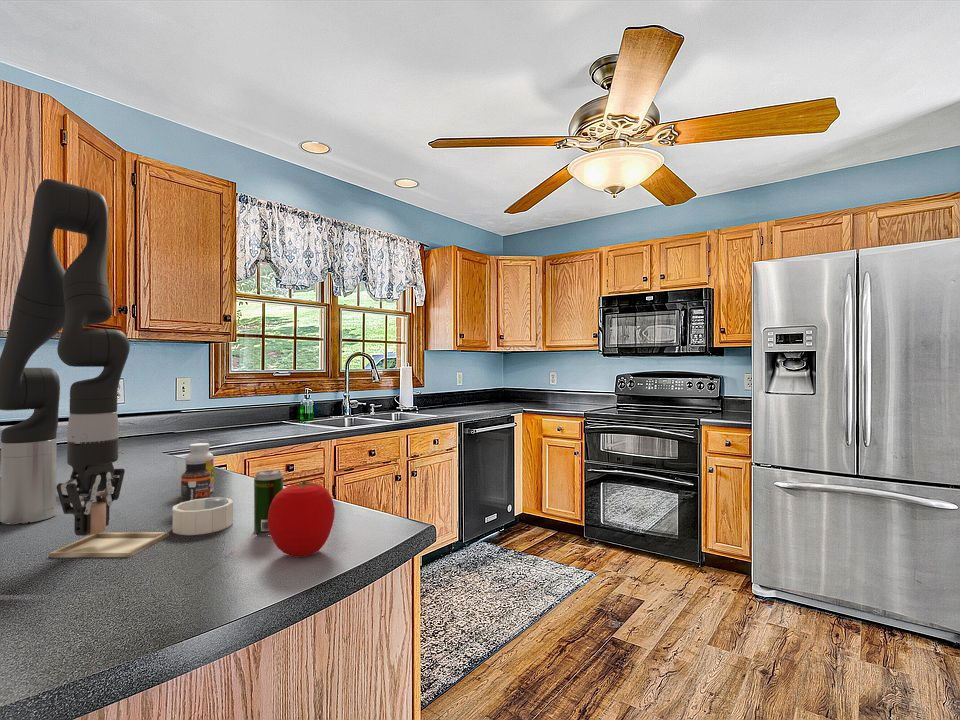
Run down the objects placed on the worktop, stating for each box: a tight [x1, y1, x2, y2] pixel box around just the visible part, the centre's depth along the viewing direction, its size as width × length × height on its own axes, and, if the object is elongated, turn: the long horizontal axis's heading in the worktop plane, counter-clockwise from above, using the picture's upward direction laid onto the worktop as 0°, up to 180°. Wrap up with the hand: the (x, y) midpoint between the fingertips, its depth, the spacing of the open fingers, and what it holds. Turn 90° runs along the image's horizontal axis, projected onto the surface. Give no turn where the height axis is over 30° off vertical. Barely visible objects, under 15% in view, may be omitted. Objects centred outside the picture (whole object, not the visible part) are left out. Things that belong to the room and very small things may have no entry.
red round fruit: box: [268, 480, 336, 558], centre depth 91 cm, size 11×11×13 cm
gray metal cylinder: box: [205, 496, 227, 509], centre depth 107 cm, size 4×4×5 cm
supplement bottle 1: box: [184, 442, 215, 493], centre depth 137 cm, size 7×7×13 cm
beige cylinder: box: [81, 501, 107, 536], centre depth 95 cm, size 4×4×5 cm
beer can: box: [253, 469, 284, 537], centre depth 103 cm, size 5×5×12 cm
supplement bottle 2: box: [180, 461, 211, 503], centre depth 118 cm, size 6×6×11 cm
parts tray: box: [48, 531, 170, 559], centre depth 94 cm, size 14×11×1 cm
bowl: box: [172, 497, 234, 536], centre depth 106 cm, size 11×11×5 cm
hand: (92, 530), depth 95 cm, fingers closed on beige cylinder, 4 cm apart
